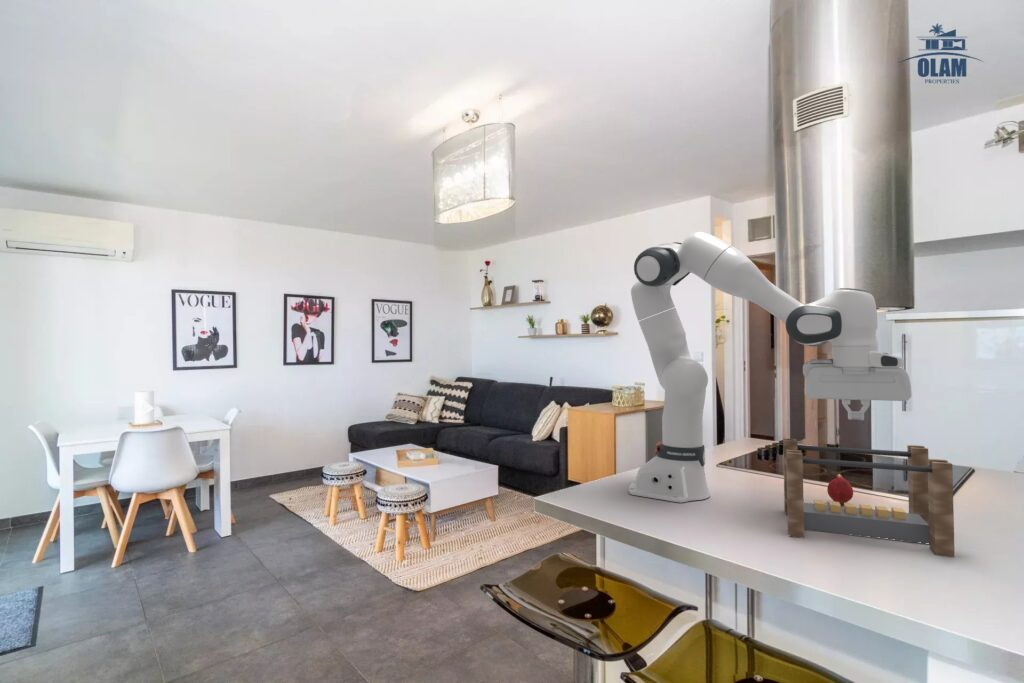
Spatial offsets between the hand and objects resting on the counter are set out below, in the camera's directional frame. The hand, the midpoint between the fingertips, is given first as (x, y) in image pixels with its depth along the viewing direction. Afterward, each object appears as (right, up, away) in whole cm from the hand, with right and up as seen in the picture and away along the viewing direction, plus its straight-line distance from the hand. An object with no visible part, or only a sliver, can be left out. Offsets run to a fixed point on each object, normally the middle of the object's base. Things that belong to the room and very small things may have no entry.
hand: (856, 419), depth 118 cm
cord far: (+4, -9, +7) cm, 12 cm away
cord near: (-3, -9, -7) cm, 12 cm away
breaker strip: (0, -25, 0) cm, 25 cm away
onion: (+8, -26, +18) cm, 32 cm away
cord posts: (0, -25, 0) cm, 25 cm away
